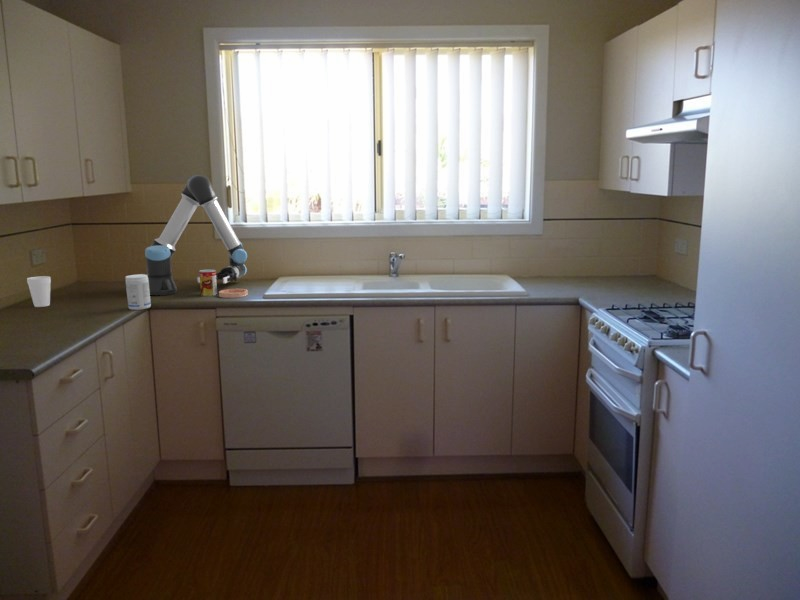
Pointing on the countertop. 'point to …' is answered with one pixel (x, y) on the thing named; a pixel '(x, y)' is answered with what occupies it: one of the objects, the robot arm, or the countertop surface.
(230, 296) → the terracotta dish
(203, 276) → the canned food
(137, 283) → the supplement tub
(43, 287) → the foam cup
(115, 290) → the countertop surface
